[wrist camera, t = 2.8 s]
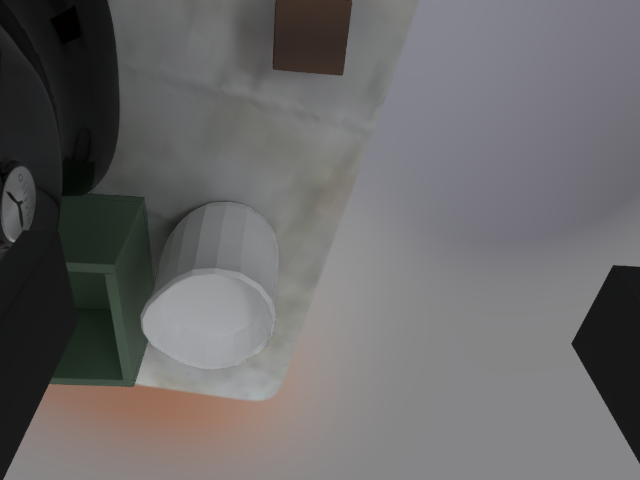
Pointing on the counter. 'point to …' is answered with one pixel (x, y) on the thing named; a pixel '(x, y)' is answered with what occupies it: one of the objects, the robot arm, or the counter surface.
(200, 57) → the counter surface
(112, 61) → the kettle
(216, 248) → the cup
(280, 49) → the block
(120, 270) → the chest
